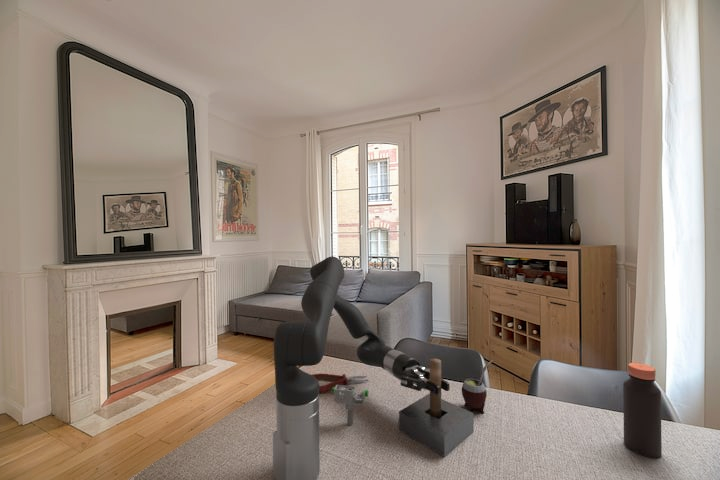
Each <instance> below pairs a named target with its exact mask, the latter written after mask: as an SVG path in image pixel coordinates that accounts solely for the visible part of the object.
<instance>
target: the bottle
mask: <svg viewBox="0 0 720 480" xmlns="http://www.w3.org/2000/svg"><path fill="white" fill-rule="evenodd" d="M627 374H628V376H629V378H628V379H626V380H625V381H624V382H623V383H622V384H623V387H622V389H623V391H622V392H623V393H622V394H623V395H622V396H623V397H622V398H623V399H622V400H623V409H622V410H623V444H624V445H625V447H627V448H628V449H630V450H631V451H632V452H634V453H636V454H639V455H640V456H644V457H647V458H652V457H655V458H656V457H657V458H660V457H662V453H663V450H662V448H663V447H662V444H663V443H662V392H661V390H660V389H659V387H658V386H656V385H655V384H654V382H655V381H656V369H655V368H654V367H652V366H651V365H650V366H649V365H648V364H644V363H637V362H630V363H628V364H627ZM655 458H654V459H655Z"/></svg>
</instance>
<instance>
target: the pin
mask: <svg viewBox="0 0 720 480" xmlns="http://www.w3.org/2000/svg"><path fill="white" fill-rule="evenodd" d="M429 369H430V381H431V382H433V383H435V384H436V385H438V386H439V387H440V394H439V395H436V394H435V393H432V392H430V391H429V394H430V415H431V416H433V417H435V418H437V419H439V418H441V399H442V388H441V373H442V360H440V359H438V358H430V359H429Z"/></svg>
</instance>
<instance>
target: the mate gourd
mask: <svg viewBox="0 0 720 480" xmlns="http://www.w3.org/2000/svg"><path fill="white" fill-rule="evenodd" d="M492 363H494V359H492V360H490V361H489V362H487V363H486V364H485V366H483V368H482V371H481V372H482V373H481V376H480V378H479V379H475V378H466V379H465V380H463V381H464V382H463V383H462V385H461V394H462V395H461V396H462V398H463V401H464V406H465V407H467V410H468V411H470V412H472V413H473V411H476V412H478V413H480V414H482V415H483V414H485V411H484V408H485V404H486V400H487V396H488V395H487V389H486V386H485V384H484V383H483V382H482V380H483V377H484V375H485V372H486V370H487V367H488V366H489V365H491V364H492Z"/></svg>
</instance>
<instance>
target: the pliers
mask: <svg viewBox="0 0 720 480" xmlns="http://www.w3.org/2000/svg"><path fill="white" fill-rule="evenodd" d="M311 375H313V376H314V377H315V378H316V379H317V380H318V381H329V383H327V384H324V385H319V395H322V394H326V393H330V392H332V387H335V386H336V385H345V386H349V385H352V384H360V383H364V382H369V379H366V378H367V375H348V376H346V373H343V374H342V375H338V374H332V373H313V374H311ZM330 381H331V382H330Z"/></svg>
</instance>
